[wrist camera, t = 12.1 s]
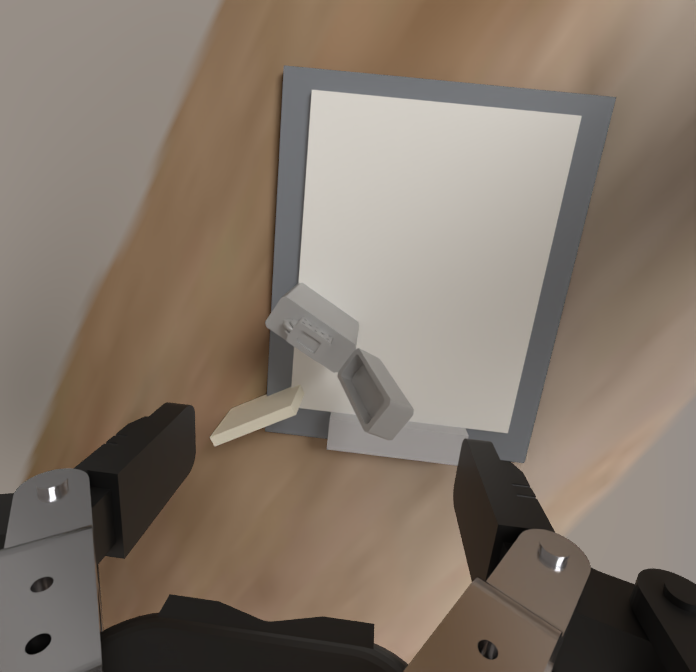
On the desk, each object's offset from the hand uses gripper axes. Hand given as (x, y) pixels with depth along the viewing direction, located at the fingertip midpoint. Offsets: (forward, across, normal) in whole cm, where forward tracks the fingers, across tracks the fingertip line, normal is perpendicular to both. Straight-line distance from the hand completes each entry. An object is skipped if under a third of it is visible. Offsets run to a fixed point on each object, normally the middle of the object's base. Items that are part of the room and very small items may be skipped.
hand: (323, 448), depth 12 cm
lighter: (+12, 0, 0) cm, 12 cm away
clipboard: (+13, -3, -3) cm, 14 cm away
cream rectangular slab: (+12, +5, +5) cm, 14 cm away
